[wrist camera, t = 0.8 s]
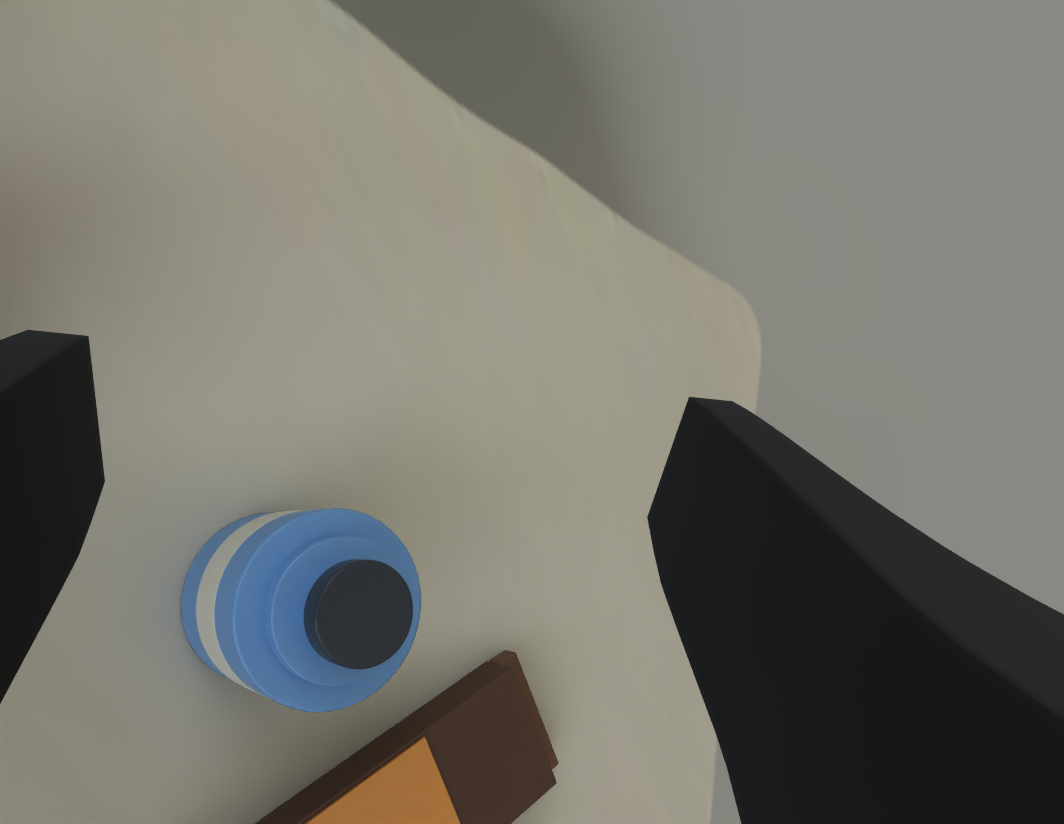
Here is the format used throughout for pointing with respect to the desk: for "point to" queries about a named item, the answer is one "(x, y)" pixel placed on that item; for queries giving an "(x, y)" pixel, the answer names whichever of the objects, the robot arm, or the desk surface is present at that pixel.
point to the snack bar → (442, 761)
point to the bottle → (303, 606)
